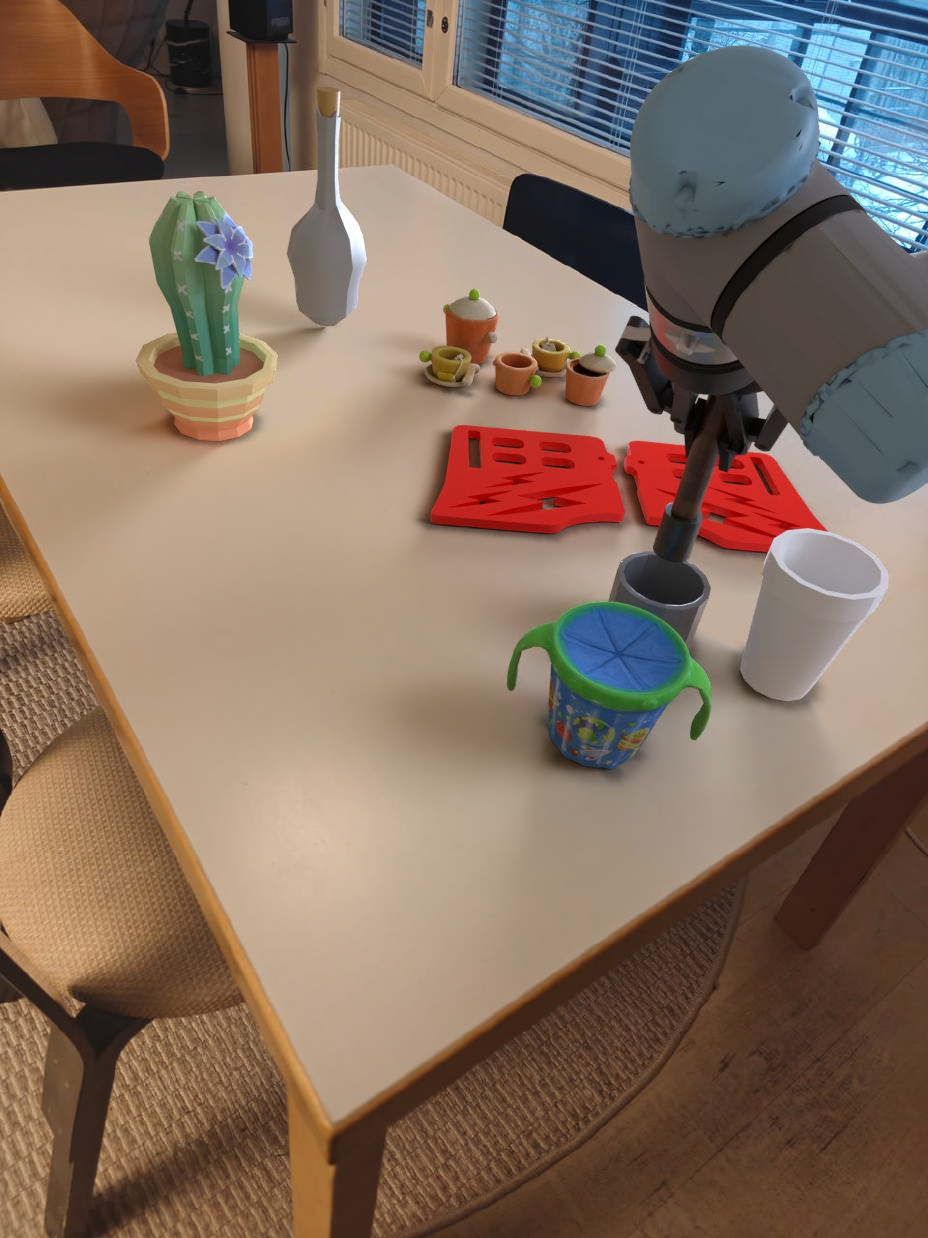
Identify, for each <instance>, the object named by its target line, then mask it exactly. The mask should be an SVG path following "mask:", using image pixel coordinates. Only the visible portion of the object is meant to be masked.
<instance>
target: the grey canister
mask: <svg viewBox="0 0 928 1238" xmlns="http://www.w3.org/2000/svg"><path fill="white" fill-rule="evenodd" d="M711 590H712V587H711V584H710V582H709V579H708V576H707V575H706V574H705V573H704V572H703V571H702V570H701V569H700V568H699V567H698V566H697V565H695V564H694V563H692V562H690V561H688V560H686V561H684V562H680V563H674V562H669V561H666V560H663V559H661V558H660V557H658V556H657V555H656V554H655V553H654V551H653V550H642V551H639V552H638V551H637V552H633V553H630V554H628V555H626V556H625V557H624V558H623V559H622V560H620V561H619V565H618V567H617V569H616V573H615V576H614V580H613V582H612V586H611V590H610V592H609V593H610V594H609V597H608V601H607V602H618V603H623V604H627V605H631V606H634V607H637V608H640V609H643V610H645V611H648V612H650V613H651V614H653V615H655V616H657V617H658V618H660V619H662V620H663V621H664V622H666V623H667V624H668V625H670V626H671V627H672V628H673V629H674V630H675V631H676V632H677V633H678V634H679V635H680V637H681V638H682V639H683V641H684V643H685V644H686V646H687V648H688V651H689V652H690V648H691V645H692V643H693V640H694V637H695V635H696V632H697V630H698V627H699V625H700V623H701V619H702V617H703V614H704V612H705V609H706V608H707V607H706V606H707V604H708V601H709V598H710V594H711Z"/></svg>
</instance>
